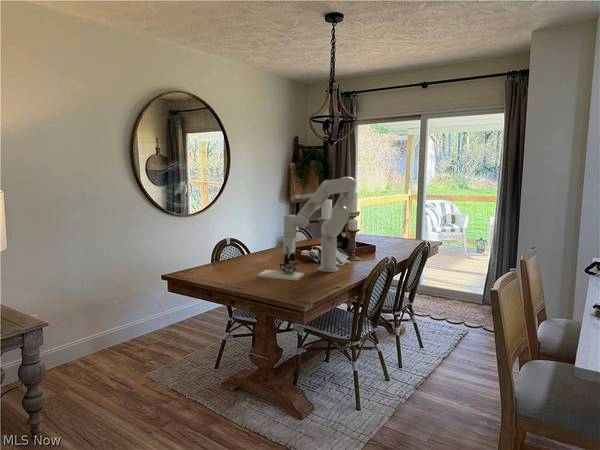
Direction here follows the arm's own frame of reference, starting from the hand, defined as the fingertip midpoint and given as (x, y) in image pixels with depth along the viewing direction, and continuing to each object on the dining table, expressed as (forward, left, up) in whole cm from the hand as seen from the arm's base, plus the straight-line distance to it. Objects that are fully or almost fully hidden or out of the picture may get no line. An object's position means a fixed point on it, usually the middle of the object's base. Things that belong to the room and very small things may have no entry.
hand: (289, 262), depth 253 cm
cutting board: (+14, 0, -5) cm, 15 cm away
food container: (+5, +2, -3) cm, 7 cm away
